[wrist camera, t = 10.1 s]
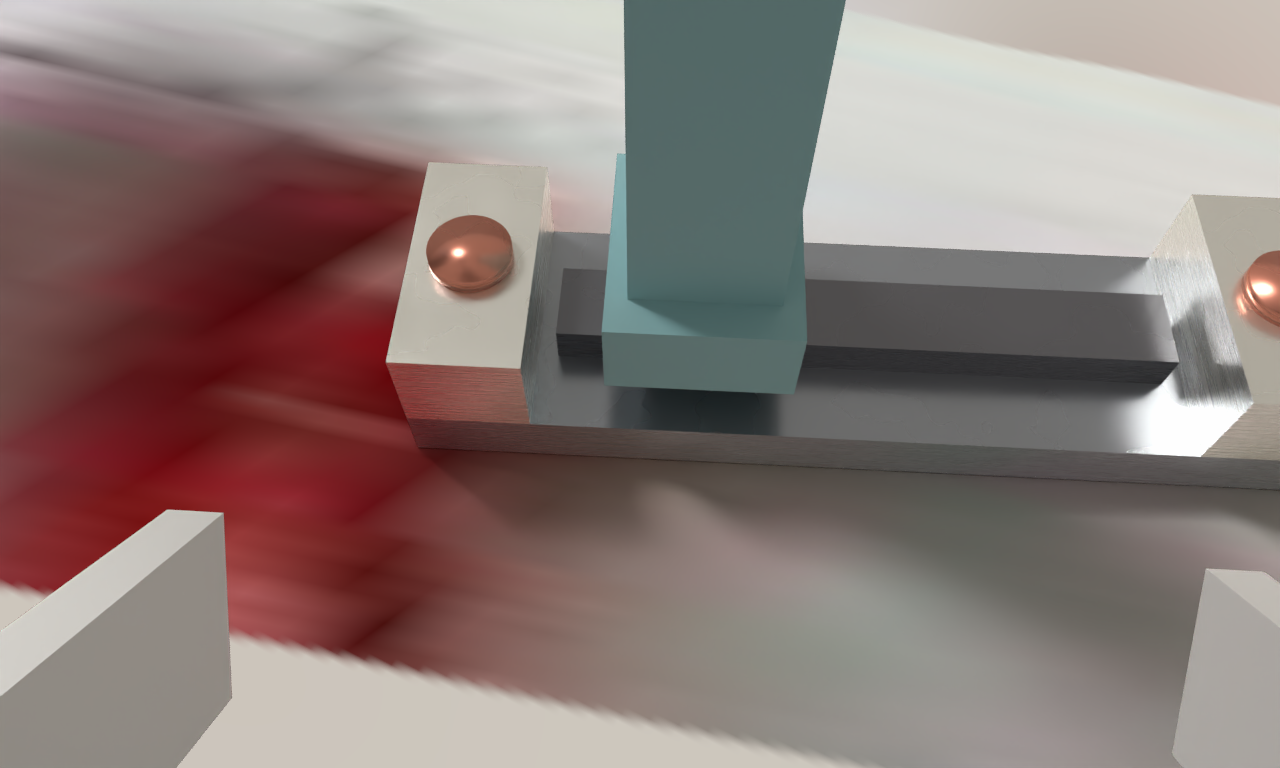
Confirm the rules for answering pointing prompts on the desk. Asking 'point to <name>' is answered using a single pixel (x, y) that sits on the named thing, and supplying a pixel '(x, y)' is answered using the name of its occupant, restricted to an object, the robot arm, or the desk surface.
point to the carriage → (715, 192)
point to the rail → (863, 351)
